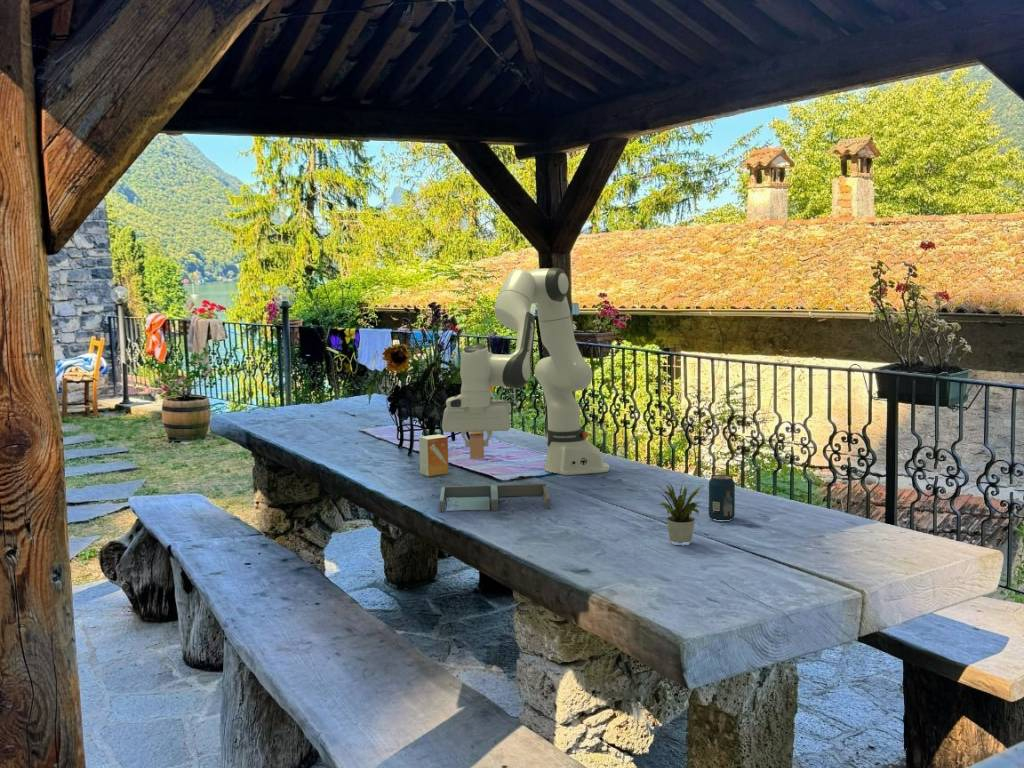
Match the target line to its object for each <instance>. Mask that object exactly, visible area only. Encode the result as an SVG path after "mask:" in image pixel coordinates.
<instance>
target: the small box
mask: <svg viewBox="0 0 1024 768" xmlns="http://www.w3.org/2000/svg"><path fill="white" fill-rule="evenodd" d="M448 440H449V439H448V436H446V435H442V434H439V433H437V434H432V435H431V434H429V435H425V436H424V435H423V436H418V445H419V447H418V449H419V473H420V474H421V475H423V476H425V477H433V476H440V475H446V474H447V475H448V474H449V471H450V470H449V441H448Z"/></svg>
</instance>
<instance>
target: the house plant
mask: <svg viewBox="0 0 1024 768" xmlns="http://www.w3.org/2000/svg"><path fill="white" fill-rule="evenodd" d="M684 481H685V479H683V481H682V482H681V486H680V490H679V495H678V496H676V493H675V489H674V488H673V485H672V484H671V483H669V482H667V481H666V483H665V487H666V488H667V489H668V491H666V490H664V488H663V487H661V485H658V484H655V483H653V485H655V486H657V487H659V488H660V489H661V491H662V492H664V493H665V494H662V493H660V495H661V497H664V499H665V500H666V501H667V503H666V502H659V504H658V506H661V507H659V508H662V509H663V508H664V509H666V510H667V512H666V513H667V517H666V523H667V524H666V526H667V530H668V536H669V542H670V541H673V542H678V543H683V542H690V541H691V540H692V539H693V533H694V526H695V521H696V518H695V517H693V516H692V512H695V513H696V514H697V515H699V513H700V511H699V509H697V508H698V507H700V505H698V504H701V502H699V501H698V502H692V499H694V497H695V496H696V495H697V494H699V493H700V491H699V490H700V489H702V488H703V487H705V484H703V485H701V486H699V487H697V488H696V489H694V491H693V492H692V493H691V494H690V495H689V497H688V499H687V500H686V497H687V493H688V492H687V491H688V488H689V487H690V485H688V486H687V484H686V483H685V482H684ZM684 483H685V484H684ZM649 484H650V485H651V483H650V482H649ZM683 484H684V489H683ZM682 490H683V491H682ZM669 514H670V516H668V515H669ZM692 541H693V540H692ZM692 541H691V542H692Z"/></svg>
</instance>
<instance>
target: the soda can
mask: <svg viewBox="0 0 1024 768" xmlns="http://www.w3.org/2000/svg"><path fill="white" fill-rule="evenodd" d="M708 481H709V482H708V516H709V518H710V519H711V518H712V519H716V520H730V519H732V518H733V519H734V518H735V515H736V513H735V512H736V511H735V509H736V508H735V507H736V506H735V503H736V502H735V500H736V499H735V498H736V497H735V496H736V493H735V492H736V491H735V490H736V488H735V487H736V486H735V485H736V483H735V480H734V479H733V476H732V475H731V474H730V475H729V474H720V473H719V474H713V475H711V476H710V479H709V480H708ZM733 519H732V520H733Z"/></svg>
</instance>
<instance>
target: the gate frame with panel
mask: <svg viewBox="0 0 1024 768" xmlns="http://www.w3.org/2000/svg"><path fill="white" fill-rule="evenodd" d="M529 496H542V497H543V500H544V505H545V509H546V510H549V509H550V508H551V500H550V499H551V497H550V495H549V491H548V488H547V484H546V483H518V484H517V483H513V484H512V483H511V484H486V485H485V484H480V485H478V484H477V485H452V486H451V485H450V486H449V485H447V486H441V489H440V495H439V512H440V511H443V510H444V511H445V504H446V501H447V500H448V499H449V500H451V501H452V502H451V501H450V502H451V503H452V504H453V503H455V501H458V502H457V503H458V504H457V503H456V504H457V505H459V507H460V508H456V507H454V509H455V508H456V510H458V509H459V510H475V511H476V510H480V511H490V510H491V512H492V511H493V512H494V511H499V498H501V497H502V498H503V497H529ZM445 497H447V498H445ZM450 497H456V498H450ZM452 499H453V500H452ZM444 503H445V504H444ZM448 503H449V502H448ZM451 503H450V504H451ZM450 506H452V505H450ZM452 507H453V506H452ZM444 511H443V512H444ZM475 511H474V512H475Z"/></svg>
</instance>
